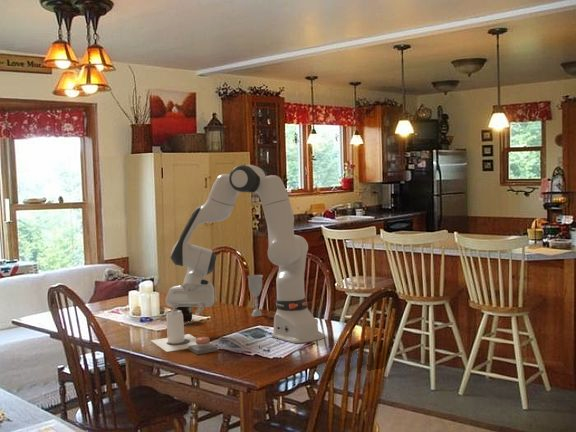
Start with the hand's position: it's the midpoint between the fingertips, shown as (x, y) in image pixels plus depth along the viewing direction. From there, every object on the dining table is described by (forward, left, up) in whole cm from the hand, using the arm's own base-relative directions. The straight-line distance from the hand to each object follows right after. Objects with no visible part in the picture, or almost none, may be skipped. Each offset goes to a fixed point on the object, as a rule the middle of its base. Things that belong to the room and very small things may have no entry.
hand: (185, 314), depth 255 cm
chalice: (+17, -40, -9) cm, 44 cm away
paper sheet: (-7, +6, -9) cm, 13 cm away
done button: (-23, +2, -6) cm, 24 cm away
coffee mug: (+29, -11, -9) cm, 33 cm away
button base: (-23, +2, -9) cm, 25 cm away
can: (-6, +7, -9) cm, 13 cm away
